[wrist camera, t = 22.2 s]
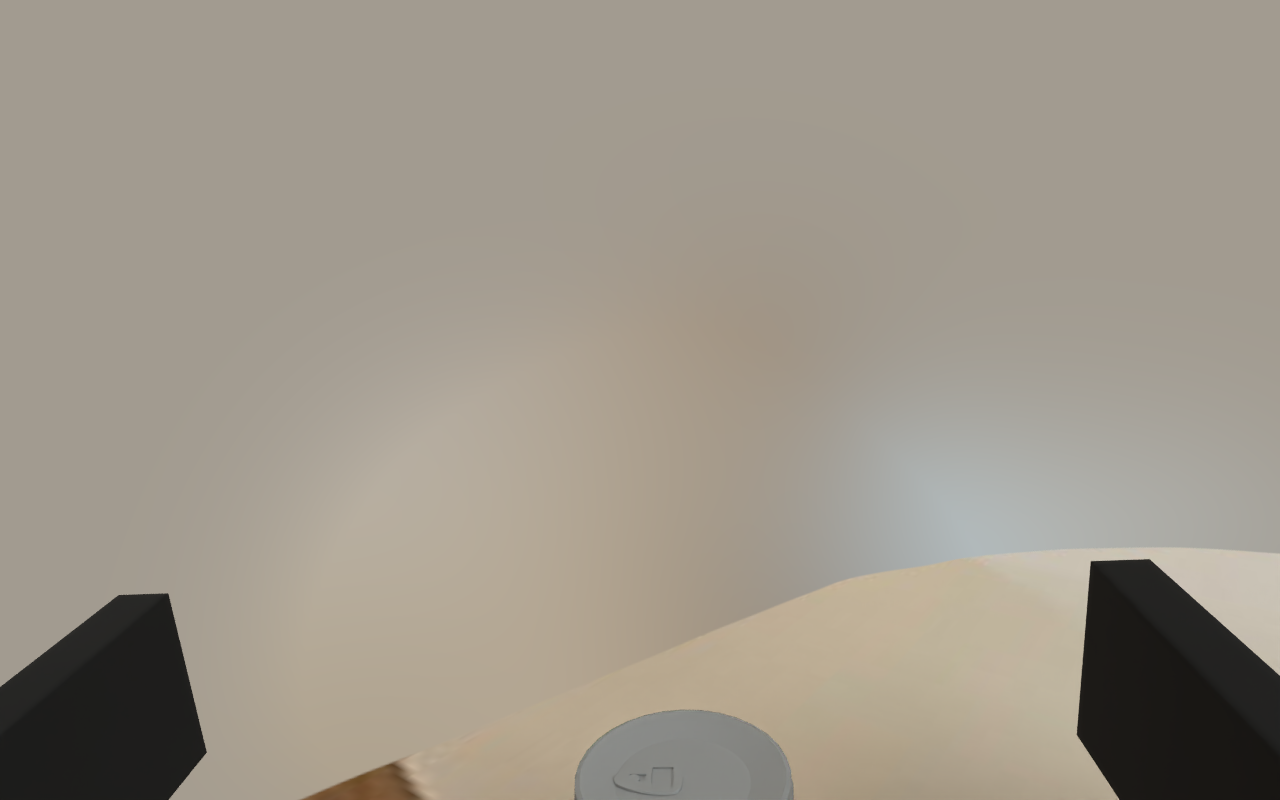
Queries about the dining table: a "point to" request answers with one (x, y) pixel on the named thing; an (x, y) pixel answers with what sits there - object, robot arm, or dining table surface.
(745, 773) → the canned food
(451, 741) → the dining table surface
